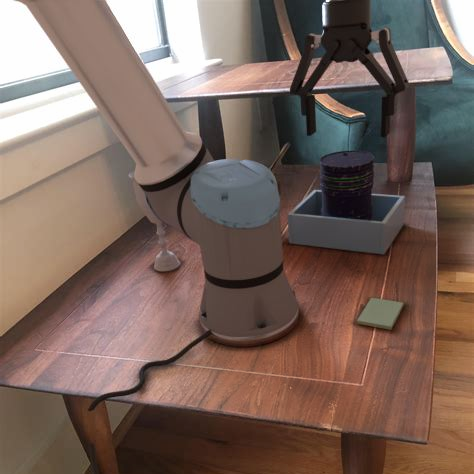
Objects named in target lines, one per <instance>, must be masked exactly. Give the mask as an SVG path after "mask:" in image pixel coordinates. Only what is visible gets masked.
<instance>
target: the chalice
mask: <svg viewBox="0 0 474 474" xmlns="http://www.w3.org/2000/svg"><path fill="white" fill-rule="evenodd" d="M134 173H135V170H132V171H131V172H129V174H128V177H129V178H130V180H131V181H132V184H133V189H134V195H135V198H136V203H137V204H138V206H139V208H140V209H141V211H142V213H143V214H144V215H145V216H146V218H147V219H148V221H149V222H150V223H151V224H155V225H156V233H155V234H156V235H157V236H158V241H157V244H159V246H160V248H161V250H160V251H159V253H158V254H156V256H155V260H154V266H153V268H154V270H155V271H157V272H170V271H173V270H176V269H177V268H179V267H180V266H181V261H180V260H179V259H178V257H177V256H176V254H175V253H174V252H173V251H171V250H168V248H167V243H168V240H167V239H166V237H165V233H166V231H165V230H164V228H163V223H162V222H161V221H160V220H159V219H158V218H157V217H156V216H155V215H154V214H153V213H152V211H151V210H150V209H149V207H148V205H147V203H146V201H145V198H144V194H143V190H142V189H141V187H140V186H139V184H138V183H137V182H136V180H135V177H134Z"/></svg>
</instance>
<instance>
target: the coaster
mask: <svg viewBox="0 0 474 474" xmlns="http://www.w3.org/2000/svg"><path fill="white" fill-rule="evenodd" d="M403 308H404V302H402V301H396V300H389V299H382V298H376V297H370V299H369V300H368V302H367V304H366V305H365V306H364V308H363V310H362V312H361V313H360V315H359V317H358V318H357V320H356V324H357V325H363V326H369V327H374V328H379V329H384V330H389V331H391V330H392V329H393V327H394V325H395V323H396V321H397V319H398V318H399V316H400V314H401V311H402V309H403Z"/></svg>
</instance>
